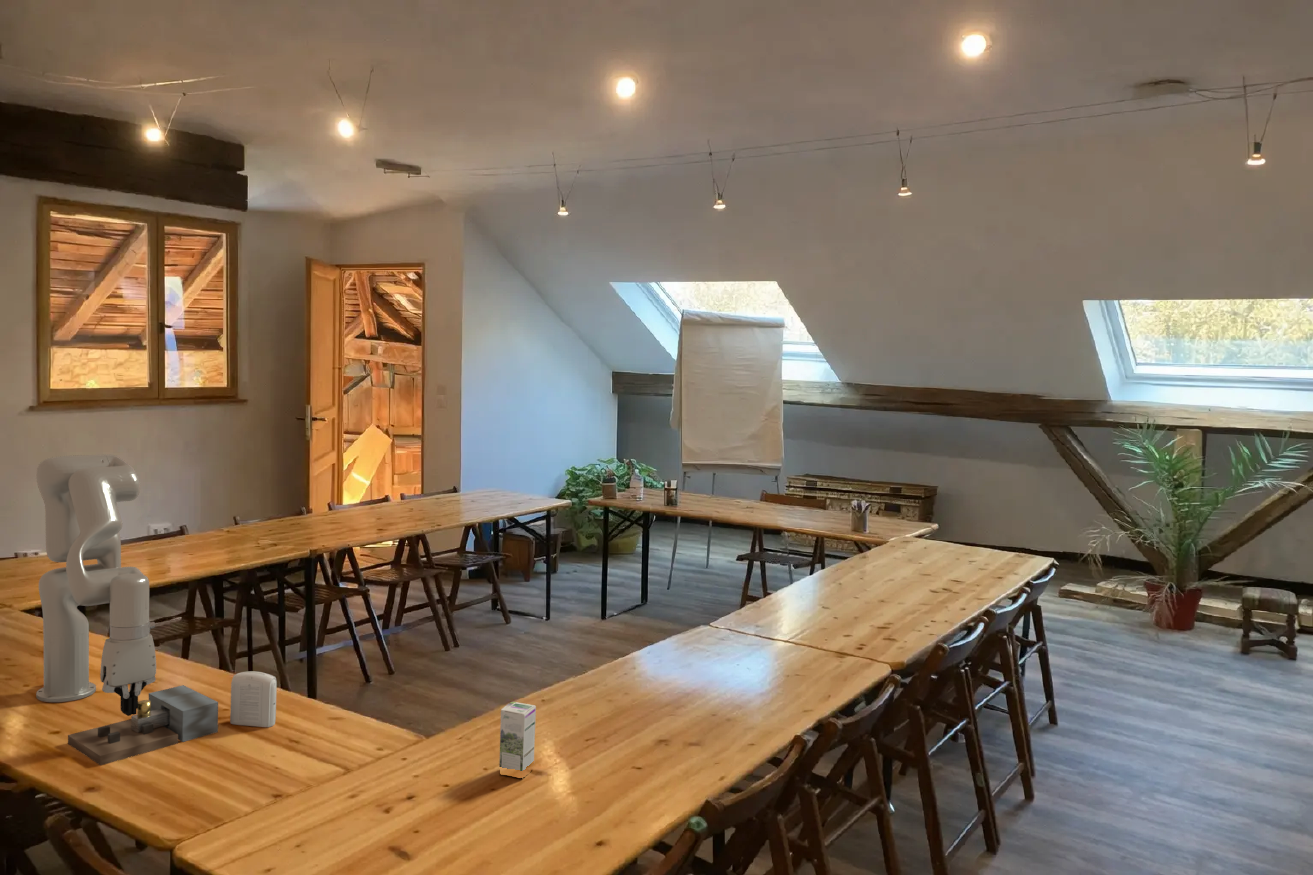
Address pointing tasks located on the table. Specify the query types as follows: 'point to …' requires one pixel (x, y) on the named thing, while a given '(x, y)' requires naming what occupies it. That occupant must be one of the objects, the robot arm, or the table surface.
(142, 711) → the bolt
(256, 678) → the photo printer
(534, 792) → the table surface
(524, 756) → the syrup box
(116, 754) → the frame
